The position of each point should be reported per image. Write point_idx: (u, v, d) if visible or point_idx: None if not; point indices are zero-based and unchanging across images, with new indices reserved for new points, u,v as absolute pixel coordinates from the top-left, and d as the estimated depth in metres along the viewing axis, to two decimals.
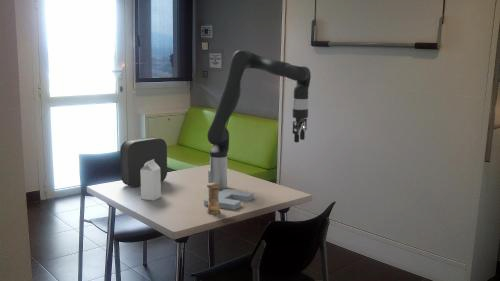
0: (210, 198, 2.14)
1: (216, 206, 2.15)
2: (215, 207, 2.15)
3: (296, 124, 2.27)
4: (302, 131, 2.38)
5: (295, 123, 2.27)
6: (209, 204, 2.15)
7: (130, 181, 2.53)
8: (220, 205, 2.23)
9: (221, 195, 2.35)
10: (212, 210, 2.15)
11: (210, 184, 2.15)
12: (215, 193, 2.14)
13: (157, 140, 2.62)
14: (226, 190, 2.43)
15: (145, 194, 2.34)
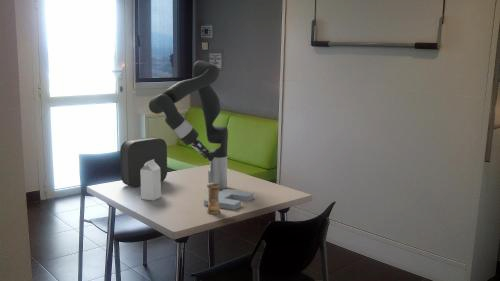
0: (210, 198, 2.14)
1: (216, 206, 2.15)
2: (215, 207, 2.15)
3: None
4: None
5: None
6: (209, 204, 2.15)
7: (130, 181, 2.53)
8: (220, 205, 2.23)
9: (221, 195, 2.35)
10: (212, 210, 2.15)
11: (210, 184, 2.15)
12: (215, 193, 2.14)
13: (157, 140, 2.62)
14: (226, 190, 2.43)
15: (145, 194, 2.34)
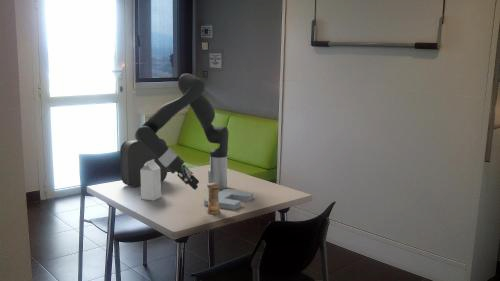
0: (210, 198, 2.14)
1: (216, 206, 2.15)
2: (215, 207, 2.15)
3: None
4: None
5: None
6: (209, 204, 2.15)
7: (130, 181, 2.53)
8: (220, 205, 2.23)
9: (221, 195, 2.35)
10: (212, 210, 2.15)
11: (210, 184, 2.15)
12: (215, 193, 2.14)
13: None
14: (226, 190, 2.43)
15: (145, 194, 2.34)
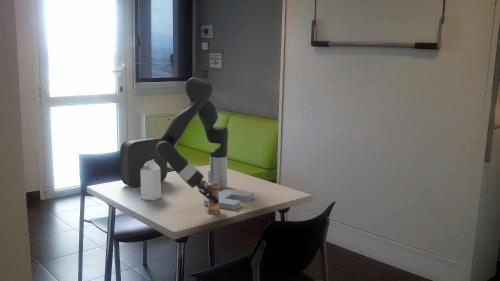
0: None
1: (216, 206, 2.15)
2: (215, 207, 2.15)
3: None
4: None
5: None
6: (209, 204, 2.15)
7: (130, 181, 2.53)
8: (220, 205, 2.23)
9: (221, 195, 2.35)
10: (212, 210, 2.15)
11: (210, 184, 2.15)
12: (215, 193, 2.14)
13: (157, 140, 2.62)
14: (226, 190, 2.43)
15: (145, 194, 2.34)
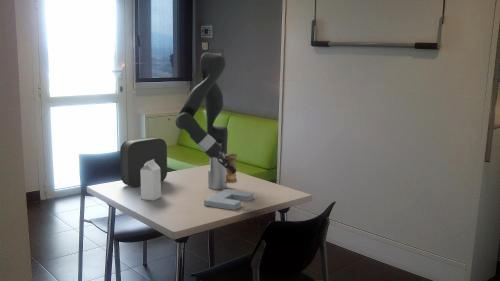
0: None
1: (233, 176, 2.25)
2: (233, 176, 2.25)
3: None
4: None
5: None
6: (227, 174, 2.25)
7: (130, 181, 2.53)
8: (220, 205, 2.23)
9: (221, 195, 2.35)
10: (230, 179, 2.25)
11: (228, 154, 2.25)
12: (232, 163, 2.24)
13: (157, 140, 2.62)
14: (226, 190, 2.43)
15: (145, 194, 2.34)
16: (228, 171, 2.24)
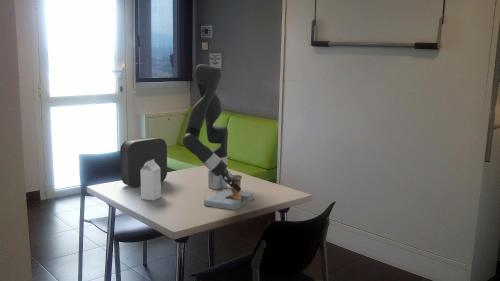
0: (233, 189, 2.29)
1: (238, 196, 2.30)
2: (237, 197, 2.30)
3: None
4: None
5: None
6: (232, 195, 2.30)
7: (130, 181, 2.53)
8: (220, 205, 2.23)
9: (221, 195, 2.35)
10: None
11: (233, 176, 2.30)
12: (237, 184, 2.29)
13: (157, 140, 2.62)
14: (226, 190, 2.43)
15: (145, 194, 2.34)
16: (233, 192, 2.29)
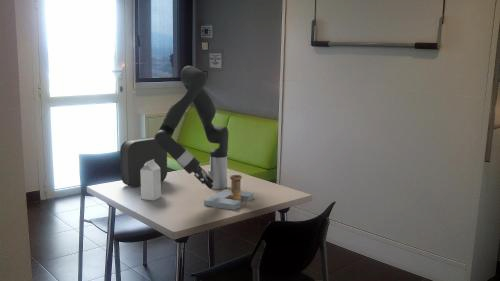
0: (233, 189, 2.29)
1: (238, 196, 2.30)
2: (237, 197, 2.30)
3: None
4: None
5: None
6: (232, 195, 2.30)
7: (130, 181, 2.53)
8: (220, 205, 2.23)
9: (221, 195, 2.35)
10: None
11: (233, 176, 2.30)
12: (237, 184, 2.29)
13: None
14: (226, 190, 2.43)
15: (145, 194, 2.34)
16: (233, 192, 2.29)
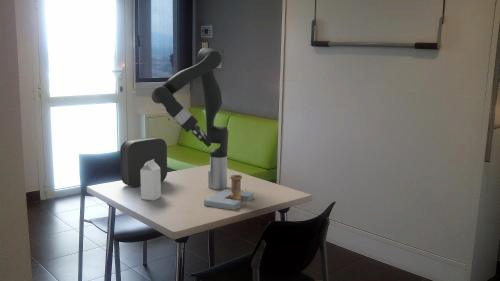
0: (233, 189, 2.29)
1: (238, 196, 2.30)
2: (237, 197, 2.30)
3: None
4: None
5: None
6: (232, 195, 2.30)
7: (130, 181, 2.53)
8: (220, 205, 2.23)
9: (221, 195, 2.35)
10: None
11: (233, 176, 2.30)
12: (237, 184, 2.29)
13: (157, 140, 2.62)
14: (226, 190, 2.43)
15: (145, 194, 2.34)
16: (233, 192, 2.29)
